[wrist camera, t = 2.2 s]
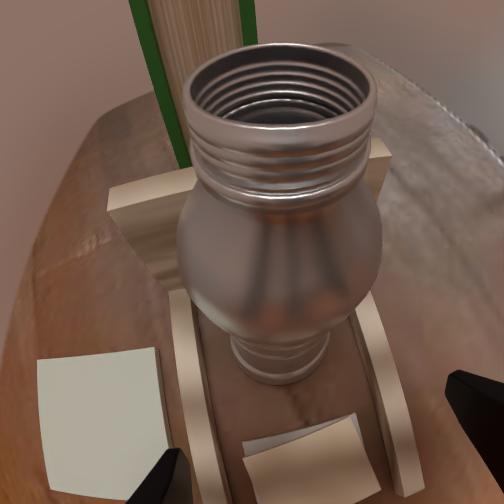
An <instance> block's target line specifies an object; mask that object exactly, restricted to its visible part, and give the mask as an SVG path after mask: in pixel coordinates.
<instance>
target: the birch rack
mask: <svg viewBox="0 0 504 504" xmlns="http://www.w3.org/2000/svg"><path fill="white" fill-rule="evenodd" d="M391 158H392V155H391V153H390V152H389V150H388V149H387V147H386V146H385V145H384V143H383V142H382V140H381V139H380V138H379V137H374V138H371V152H370V156H369V160H368V163H367V167H366V170H365V173H364V176H363V178H364V179H365V181H366V183H367V185H368V187H369V189H370V191H371V193H372V195H373V198H374V200H375V202H377V199H378V196H379V193H380V190H381V188H382V185H383V182H384V179H385V176H386V173H387V170H388V167H389V164H390V161H391ZM197 180H198V179H197V177H196V174H195V170H194V167H188V168H184V169H180V170H176V171H172V172H168V173H164V174H160V175H156V176H152V177H148V178H145V179H141V180H137V181H134V182H130V183H126V184H123V185H119V186H116V187H113V188H110V191H109V198H108V207H107V212H108V213H109V215H110V216H111V218H112V219H113V221H114V222H115V224H116V225H117V227H118V228H119V229H120V231H121V232H122V234H123V235H124V236H125V238H126V239H127V241H128V242H129V243H130V245H131V246H132V248H133V249H134V250H135V252H136V253H137V254H138V256H139V257H140V258H141V260H142V261H143V263H144V264H145V265H146V267H147V268H148V269H149V271H150V272H151V273H152V274H153V276H154V277H155V278H156V280H157V281H158V282H159V284H160V285H161V286H162V287H163V289H164V290H165V291H166V293H167V294H168V295H169V302H170V313H171V323H172V332H173V341H174V349H175V357H176V365H177V372H178V379H179V386H180V392H181V399H182V405H183V411H184V417H185V423H186V428H187V434H188V439H189V444H190V449H191V454H192V459H193V464H194V468H195V473H196V478H197V482H198V486H199V490H200V495H201V499H202V503H203V504H233V501H232V497H231V493H230V489H229V485H228V481H227V476H226V472H225V467H224V463H223V458H222V454H221V449H220V444H219V439H218V435H217V430H216V424H215V419H214V414H213V409H212V403H211V398H210V392H209V387H208V381H207V375H206V369H205V363H204V357H203V350H202V344H201V337H200V330H199V323H198V316H197V309H196V304H195V303H194V302H193V301H192V300H191V299H190V297H189V295H188V293H187V291H186V289H185V287H184V285H183V283H182V281H181V278H180V273H179V269H178V265H177V226H178V222H179V218H180V214H181V211H182V209H183V207H184V205H185V203H186V201H187V199H188V197H189V195H190V193H191V191H192V189H193V187H194V185H195V183H196V181H197ZM349 319H350V322H351V325H352V328H353V331H354V335H355V338H356V341H357V344H358V348H359V351H360V354H361V358H362V361H363V364H364V368H365V371H366V375H367V378H368V382H369V385H370V389H371V393H372V396H373V400H374V404H375V408H376V412H377V416H378V419H379V423H380V428H381V432H382V436H383V440H384V444H385V449H386V453H387V457H388V462H389V467H390V471H391V476H392V481H393V486H394V491H395V493H397V494H398V495H400V496H402V497H404V498H405V497H407V496H410V495H412V494H414V493H416V492H418V491H420V490H422V489H424V488H425V487H424V481H423V475H422V470H421V465H420V460H419V455H418V451H417V446H416V442H415V437H414V433H413V429H412V424H411V420H410V416H409V412H408V409H407V405H406V401H405V397H404V394H403V390H402V387H401V383H400V379H399V376H398V373H397V369H396V366H395V363H394V359H393V356H392V353H391V350H390V347H389V344H388V340H387V337H386V334H385V331H384V328H383V325H382V323H381V320H380V317H379V314H378V311H377V308H376V305H375V303H374V300H373V297H372V294H371V292H370V291H369V292H368V294H367V296H366V297H365V298H364V299H363V300H362V302H361V303H360V304H359V305H358V306H357V307H356V308H355V310H354V311H353V312H352V313H351V314H350V315H349Z"/></svg>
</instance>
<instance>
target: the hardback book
mask: <svg viewBox="0 0 504 504" xmlns="http://www.w3.org/2000/svg"><path fill="white" fill-rule="evenodd" d="M129 4H130V8H131V11H132V15H133V19H134V23H135V26H136V29H137V33H138V36H139V40H140V44H141V47H142V50H143V54H144V57H145V61H146V64H147V67H148V71H149V74H150V77H151V81H152V84H153V87H154V90H155V94H156V97H157V100H158V103H159V106H160V109H161V113H162V116H163V119H164V122H165V125H166V128H167V131H168V134H169V137H170V140H171V143H172V146H173V149H174V152H175V155H176V158H177V161H178V164H179V167H180V169H184V168H188V167H193V164H192V160H191V156H190V152H189V147H190V138H191V136H190V132H189V128H188V124H187V120H186V116H185V112H184V108H183V104H182V103H183V95H182V91H183V85H184V83H185V81H186V79H187V77H188V76H189V75H190V74H191V73H192V71H193V70H194V69H195V68H197V67H198V66H199V65H201V64H202V63H203V62H205V61H207V60H209V59H211V58H212V57H214V56H216V55H219V54H221V53H224V52H226V51H229V50H232V49H236V48H240V47H243V46H249V45H254V44H258V40H257V27H256V15H255V3H254V0H129Z"/></svg>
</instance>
